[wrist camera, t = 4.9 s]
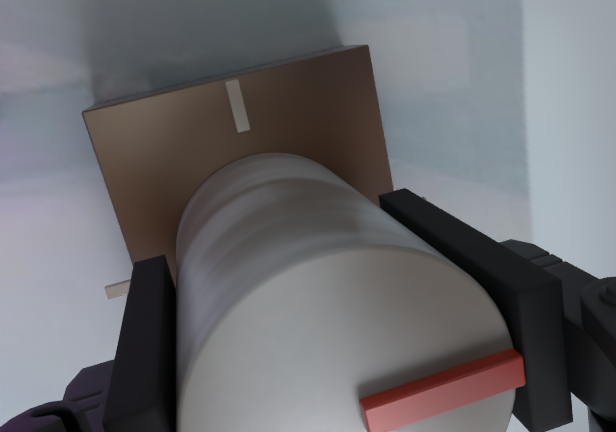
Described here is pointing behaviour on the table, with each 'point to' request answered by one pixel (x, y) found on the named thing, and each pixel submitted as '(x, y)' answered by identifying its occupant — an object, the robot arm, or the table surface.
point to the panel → (234, 138)
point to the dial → (327, 314)
